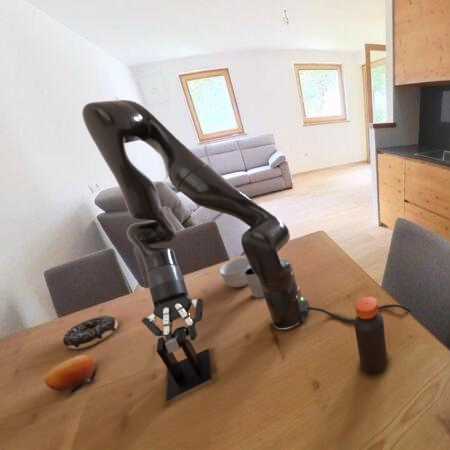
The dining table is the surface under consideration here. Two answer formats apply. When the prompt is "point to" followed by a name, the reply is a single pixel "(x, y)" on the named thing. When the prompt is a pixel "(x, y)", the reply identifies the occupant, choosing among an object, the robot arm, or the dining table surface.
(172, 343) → the lever
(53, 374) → the fruit
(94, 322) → the donut
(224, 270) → the teacup
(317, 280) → the dining table surface
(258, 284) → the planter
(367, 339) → the bottle
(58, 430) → the dining table surface
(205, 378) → the bracket
